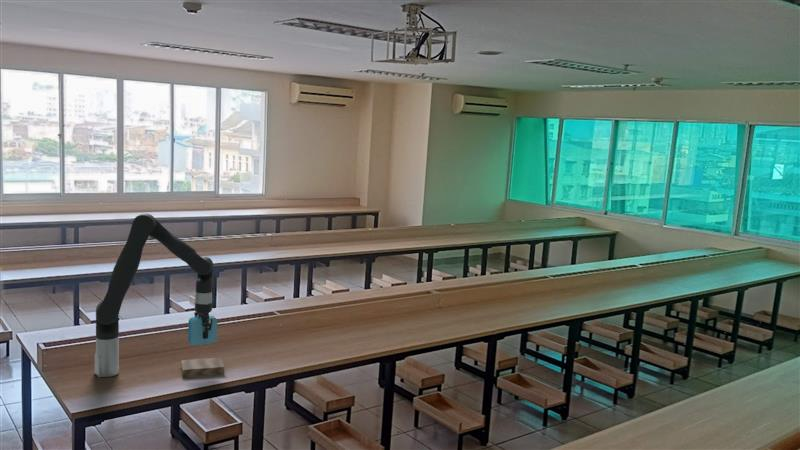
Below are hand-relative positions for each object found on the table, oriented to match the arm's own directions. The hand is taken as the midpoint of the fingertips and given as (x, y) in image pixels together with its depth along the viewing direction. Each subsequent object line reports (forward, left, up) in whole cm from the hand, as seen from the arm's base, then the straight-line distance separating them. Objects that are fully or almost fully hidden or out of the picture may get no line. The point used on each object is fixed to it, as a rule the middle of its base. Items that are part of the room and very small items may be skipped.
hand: (202, 336), depth 298 cm
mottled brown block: (0, 0, -17) cm, 17 cm away
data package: (0, 0, -3) cm, 3 cm away
